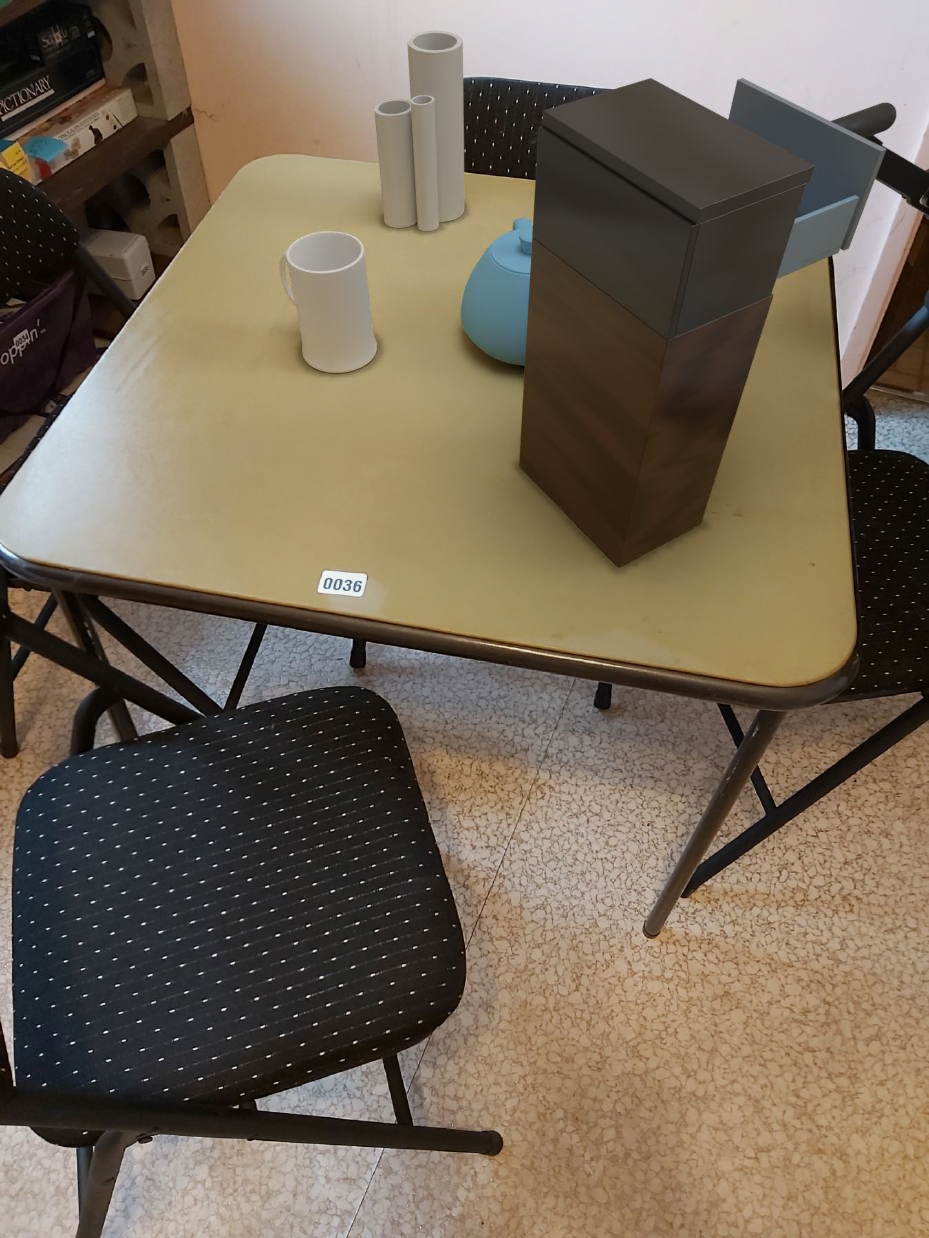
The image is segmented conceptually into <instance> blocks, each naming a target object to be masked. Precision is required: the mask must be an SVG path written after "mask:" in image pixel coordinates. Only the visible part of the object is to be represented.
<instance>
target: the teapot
mask: <svg viewBox="0 0 929 1238" xmlns="http://www.w3.org/2000/svg"><path fill="white" fill-rule="evenodd" d="M532 231H533V222H532V221H531V219H530V218H527V217H518V218H516V219H514V220H513V222H512V230H510V231H507V232H505V233H503V234H501V235H499V236H498V237H497V238H495V239H494V240H493V241H492V242H491V243H490V244H489V245H488V247H487V248H486V250H485V251H484V252H483V253H482V255H481V256H480V258H479V259H478V261H477V263H476V264H475V266H474V267H473V269H472V271H471V272H470V274H469V277H468V279H467V281H466V284H465V285H464V287H465V288H464V290H463V295H462V299H461V304H460V321H461V325H462V327H463V330H464V331H465V334H466V336H467V337H468V338H469V339H470V340H471V342H472V343H473V344H475V345H476V346H477V347H478V349H480V350H482V351H483V353H485V354H486V355H488V357H491V358H493V359H495V360H498V361H500V362H503V363H505V364H509V365H515V366H525V353H526V336H527V318H528V301H529V284H530V267H531V250H532Z"/></svg>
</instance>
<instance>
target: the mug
mask: <svg viewBox="0 0 929 1238" xmlns="http://www.w3.org/2000/svg"><path fill="white" fill-rule="evenodd" d="M278 265H279V266H278V271H279V277H280V282H281V284H282V287H283V289H284V291H285V293H286V295H287V297H288V298H289V300H290V302H292V304H293V306H294V307H295V310H296V316H297V321H298V325H299V331H300V336H301V337H300V338H301V342H302V347H301V351H302V352H301V354H302V357H303V359H304V361H305V362H306V363H307V365H309V366H310V367H312V368H313V369H315V370H317V371H321V372H324V373H330V374H342V373H343V374H344V373H349V372H353V371H356V370H358V369H361V368H363V367H364V366H367V365H368V364H369V363H370V362H371V361H372V360H373V359H374V358H375V356H376V355H377V354H376V353H377V352H378V342H377V339H376V337H375V331H374V324H373V316H372V306H371V298H370V288H369V281H368V272H367V263H366V254H365V247H364V245H363V242H362V241H361V240H360V239H359V238H357V237H356V236H354V235H352V234H350V233H346V232H342V231H336V230H335V231H334V230H324V231H315V232H312V233H309V234H305V235H303V236H300V237H299V238H297V239H295V240H294V241H293V242H291V244H290V245H289V246H288V247H287V249H286V250H285V251H284V252H283V254H282V255H281V256H280V259H279V264H278ZM286 265H287V269H288V274H289V279H290V282H289V279H288V276H287V270H286Z"/></svg>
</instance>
